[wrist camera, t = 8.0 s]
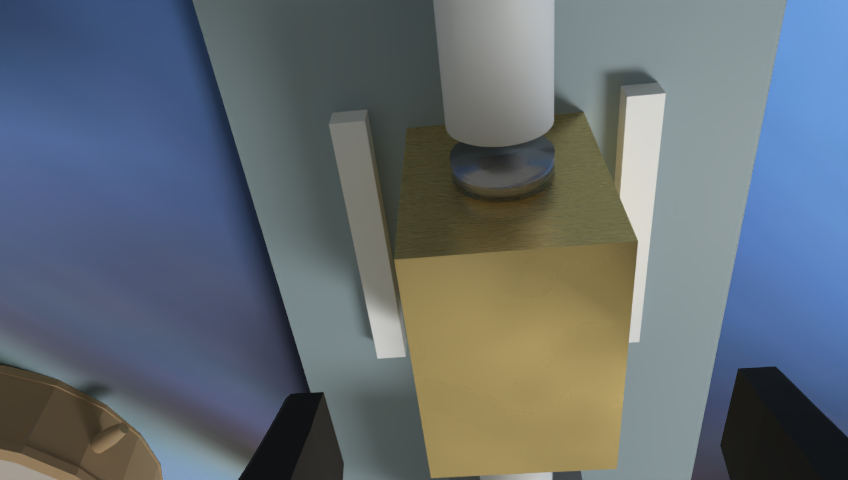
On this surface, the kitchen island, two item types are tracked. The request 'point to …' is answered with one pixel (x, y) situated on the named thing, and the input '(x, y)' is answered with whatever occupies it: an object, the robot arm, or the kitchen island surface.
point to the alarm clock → (65, 434)
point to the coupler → (515, 300)
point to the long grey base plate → (494, 127)
